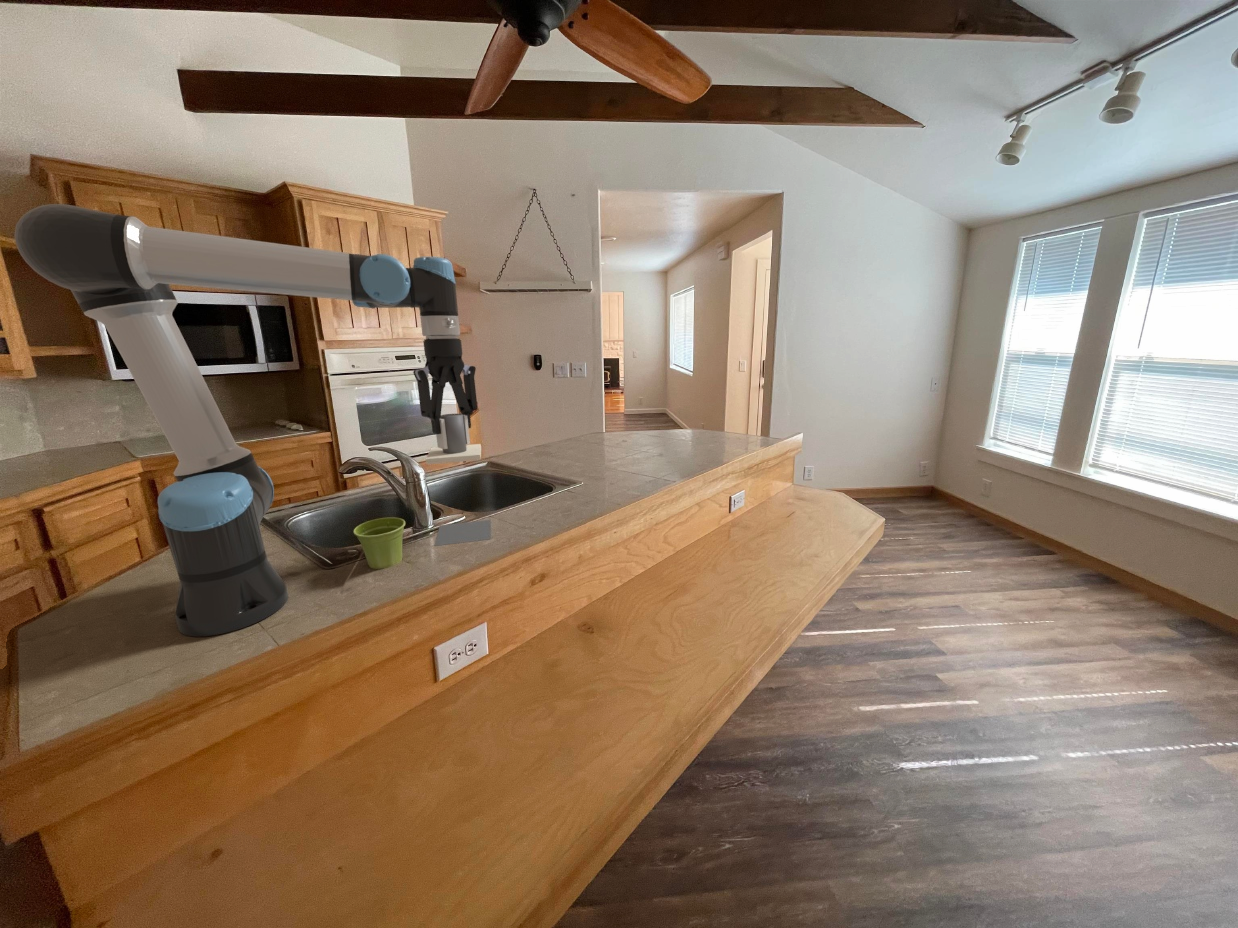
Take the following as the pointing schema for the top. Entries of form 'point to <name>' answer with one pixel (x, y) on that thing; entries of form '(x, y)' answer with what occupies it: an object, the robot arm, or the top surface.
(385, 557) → the plant pot
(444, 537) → the charcoal mat
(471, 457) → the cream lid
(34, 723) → the top surface
